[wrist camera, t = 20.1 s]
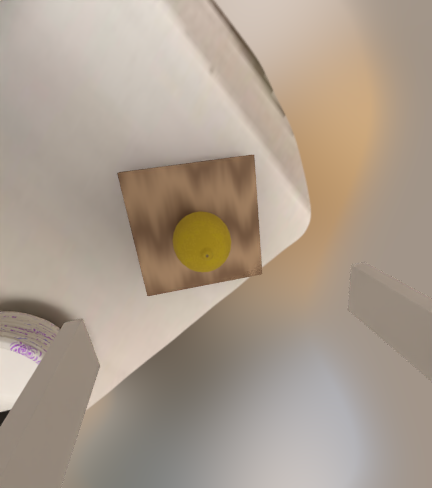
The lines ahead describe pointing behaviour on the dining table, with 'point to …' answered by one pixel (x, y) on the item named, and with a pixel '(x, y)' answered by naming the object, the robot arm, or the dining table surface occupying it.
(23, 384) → the paper bowls
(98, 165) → the dining table surface
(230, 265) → the footstool
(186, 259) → the lemon
